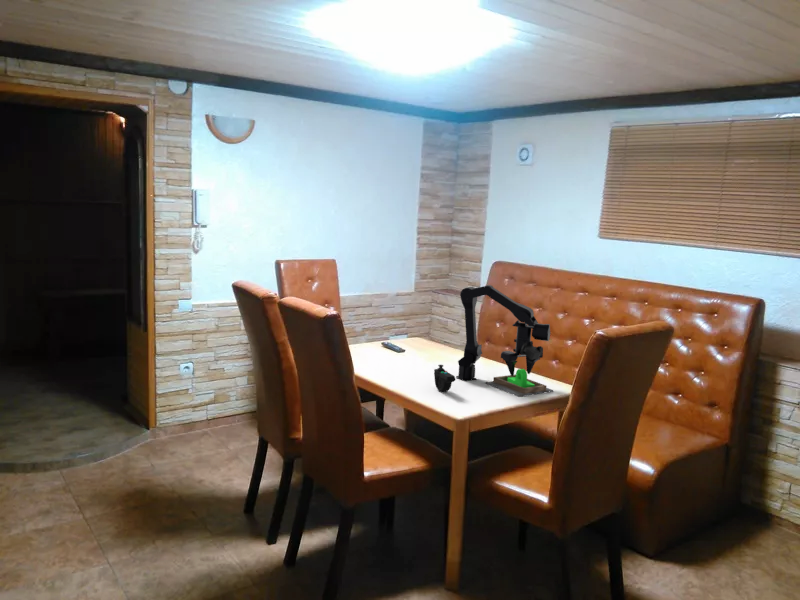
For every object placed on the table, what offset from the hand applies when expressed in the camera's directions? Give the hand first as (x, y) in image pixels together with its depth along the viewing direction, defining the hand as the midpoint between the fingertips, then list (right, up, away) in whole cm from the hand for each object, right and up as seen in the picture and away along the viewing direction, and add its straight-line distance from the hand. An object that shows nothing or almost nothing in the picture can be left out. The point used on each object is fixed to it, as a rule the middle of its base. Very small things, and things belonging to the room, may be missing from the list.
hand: (520, 374), depth 256 cm
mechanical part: (0, -5, +1) cm, 5 cm away
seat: (0, -5, +1) cm, 6 cm away
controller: (-33, -6, -12) cm, 35 cm away
